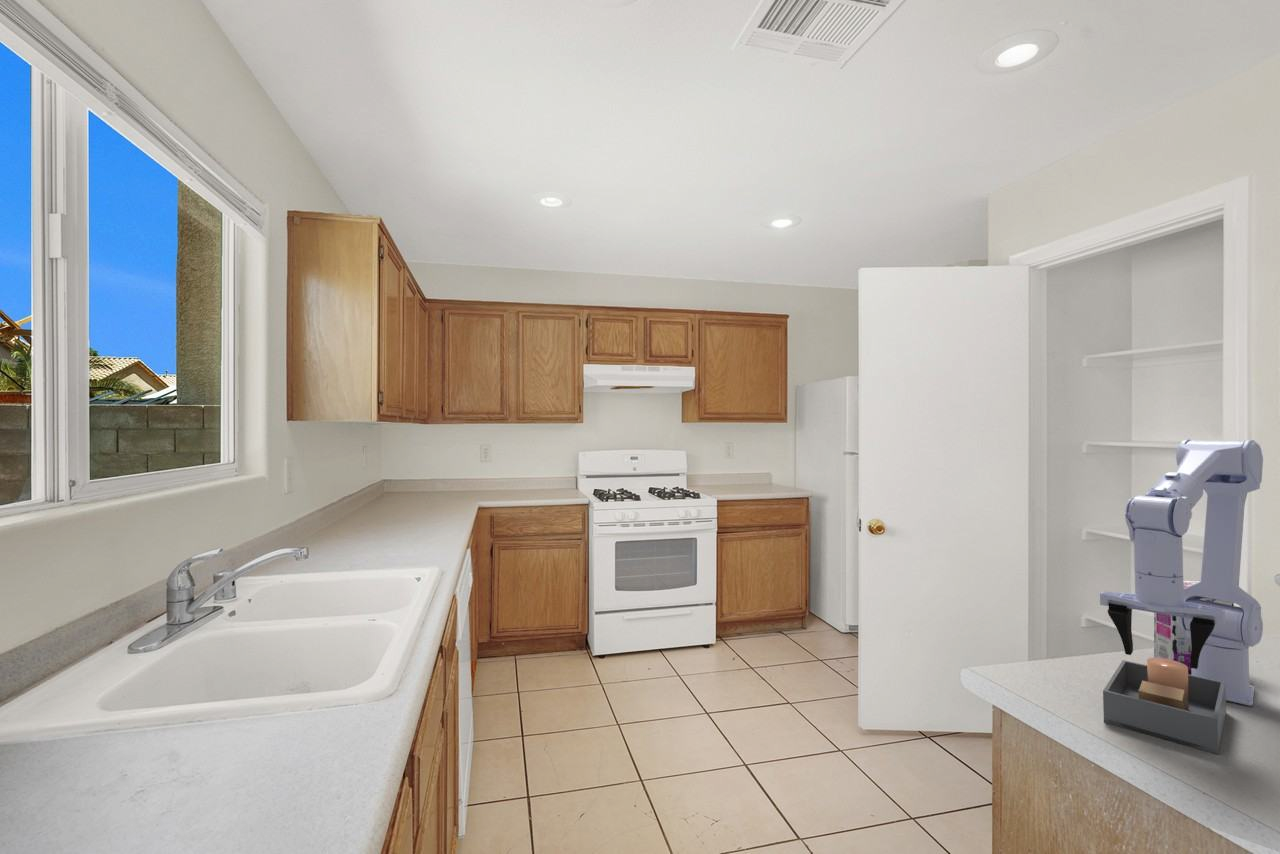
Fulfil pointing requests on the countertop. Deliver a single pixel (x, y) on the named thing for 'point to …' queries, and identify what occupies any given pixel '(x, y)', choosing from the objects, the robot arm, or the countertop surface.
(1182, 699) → the walnut cube
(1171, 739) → the box
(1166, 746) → the countertop surface
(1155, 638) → the candy bar box
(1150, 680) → the terracotta cylinder
